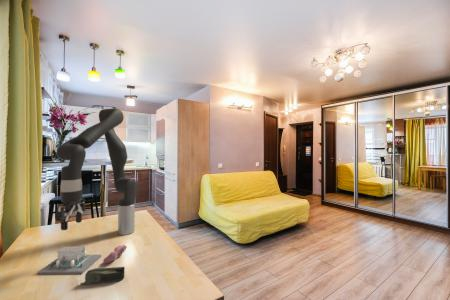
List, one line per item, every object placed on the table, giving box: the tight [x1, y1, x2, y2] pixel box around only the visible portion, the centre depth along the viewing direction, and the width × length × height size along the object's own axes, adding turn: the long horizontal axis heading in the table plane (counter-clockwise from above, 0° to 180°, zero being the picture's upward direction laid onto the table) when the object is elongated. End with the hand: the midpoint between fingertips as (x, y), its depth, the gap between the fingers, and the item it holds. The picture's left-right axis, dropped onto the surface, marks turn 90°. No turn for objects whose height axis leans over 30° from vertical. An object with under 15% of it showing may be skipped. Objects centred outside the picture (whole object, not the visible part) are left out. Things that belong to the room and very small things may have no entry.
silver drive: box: [57, 245, 86, 265], centre depth 89 cm, size 4×9×6 cm, turn 91°
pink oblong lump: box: [102, 244, 127, 264], centre depth 94 cm, size 10×5×7 cm, turn 171°
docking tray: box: [37, 250, 102, 275], centre depth 89 cm, size 13×18×4 cm
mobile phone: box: [80, 266, 125, 286], centre depth 78 cm, size 5×3×15 cm
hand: (72, 225), depth 89 cm, fingers open, 8 cm apart
